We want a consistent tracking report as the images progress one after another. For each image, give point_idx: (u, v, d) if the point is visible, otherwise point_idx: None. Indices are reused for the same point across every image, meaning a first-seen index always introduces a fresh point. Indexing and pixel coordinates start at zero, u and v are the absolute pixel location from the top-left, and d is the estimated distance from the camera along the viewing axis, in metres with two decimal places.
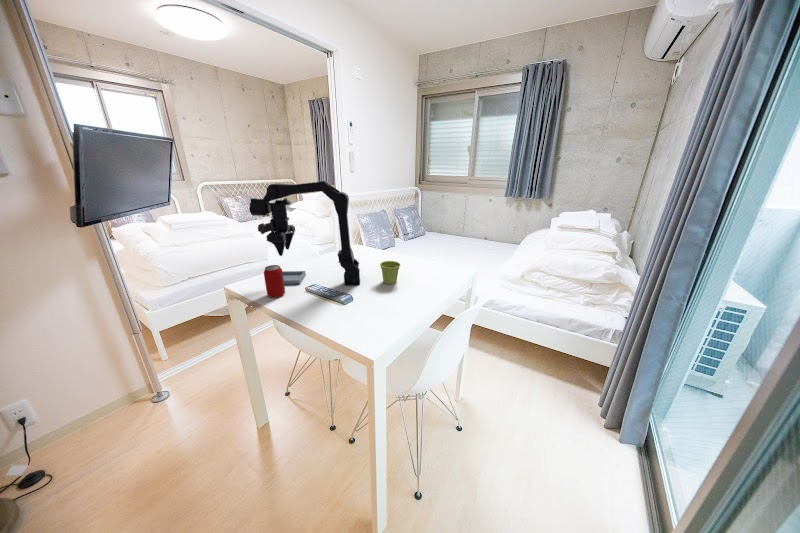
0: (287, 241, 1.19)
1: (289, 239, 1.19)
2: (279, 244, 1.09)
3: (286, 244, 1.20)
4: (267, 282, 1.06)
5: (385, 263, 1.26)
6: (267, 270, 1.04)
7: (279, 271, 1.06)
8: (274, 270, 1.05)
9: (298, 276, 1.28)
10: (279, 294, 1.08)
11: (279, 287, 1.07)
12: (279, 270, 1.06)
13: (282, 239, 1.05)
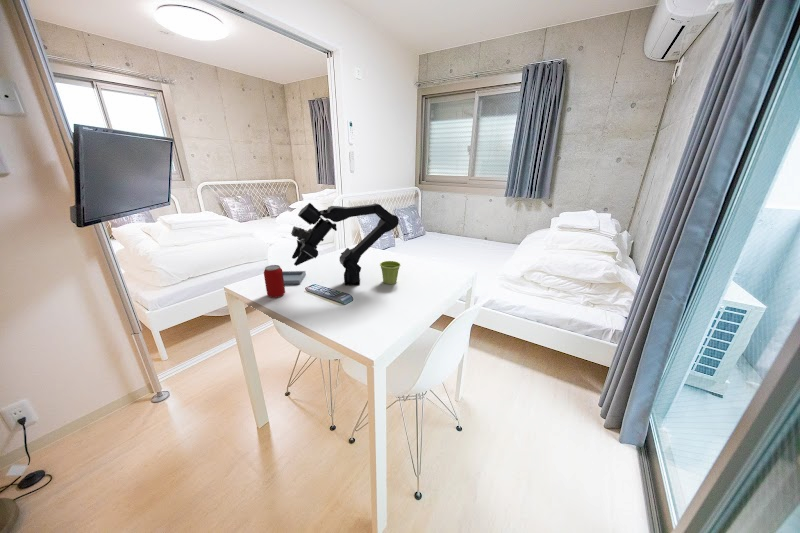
0: (299, 252, 1.14)
1: None
2: (304, 256, 1.05)
3: (296, 254, 1.14)
4: (267, 282, 1.06)
5: (385, 263, 1.26)
6: (267, 270, 1.04)
7: (279, 271, 1.06)
8: (274, 270, 1.05)
9: (298, 276, 1.28)
10: (279, 294, 1.08)
11: (279, 287, 1.07)
12: (279, 270, 1.06)
13: (315, 256, 1.04)
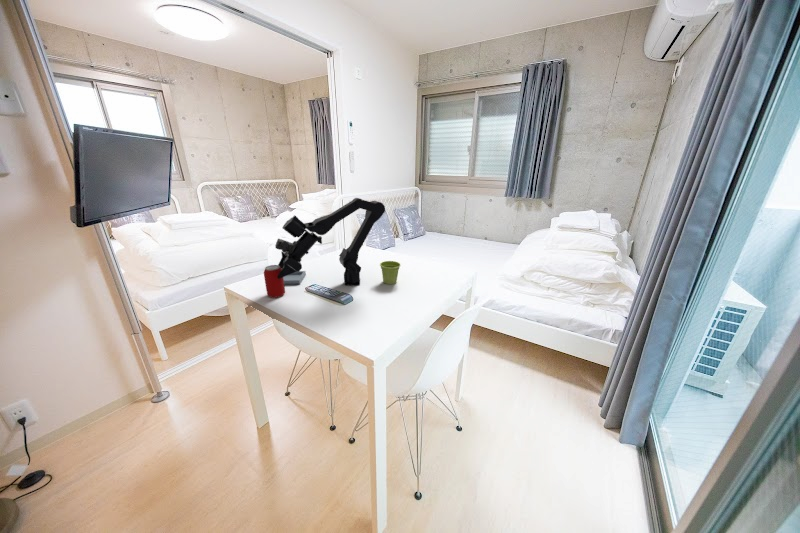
0: (283, 264, 1.13)
1: None
2: (287, 269, 1.04)
3: (280, 266, 1.12)
4: (267, 282, 1.06)
5: (385, 263, 1.26)
6: (267, 270, 1.04)
7: (279, 271, 1.06)
8: (274, 270, 1.05)
9: (298, 276, 1.28)
10: (279, 294, 1.08)
11: (279, 287, 1.07)
12: (279, 270, 1.06)
13: (299, 270, 1.03)
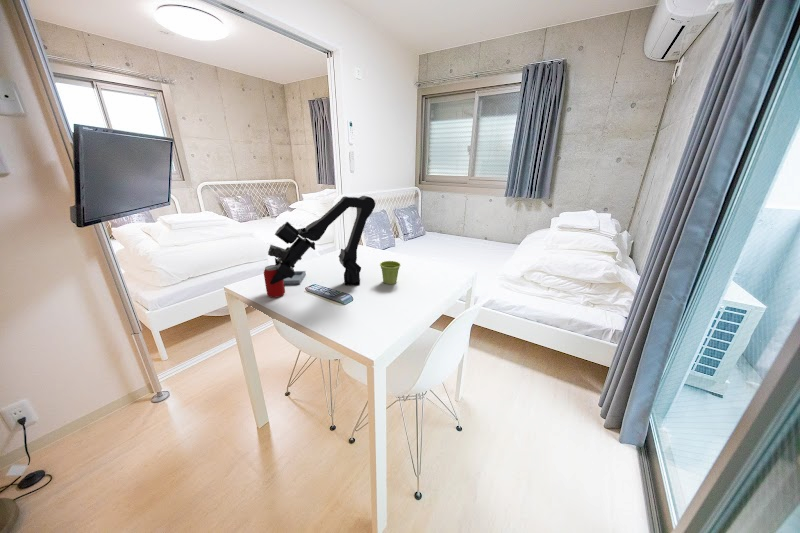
0: None
1: None
2: (280, 275, 1.04)
3: None
4: (267, 282, 1.06)
5: (385, 263, 1.26)
6: (267, 270, 1.04)
7: None
8: (274, 270, 1.05)
9: (298, 276, 1.28)
10: (279, 294, 1.08)
11: (279, 287, 1.07)
12: None
13: None
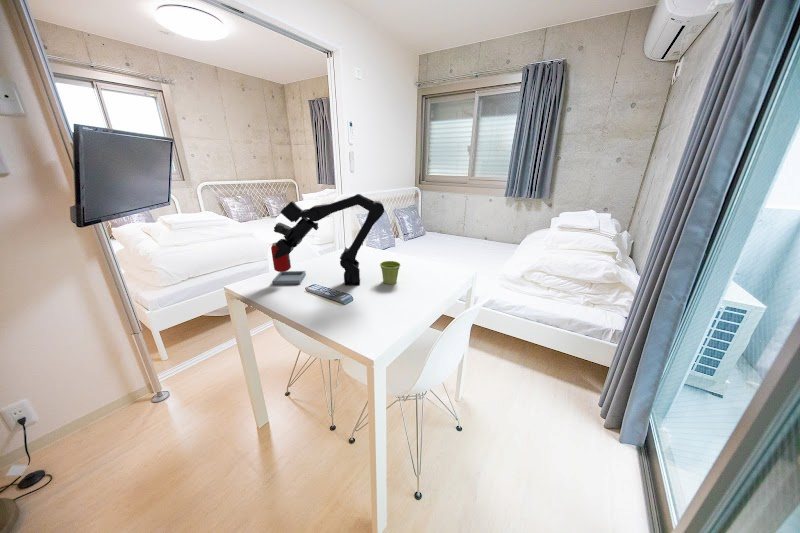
0: None
1: None
2: (282, 251, 1.12)
3: None
4: (272, 256, 1.14)
5: (385, 263, 1.26)
6: (273, 245, 1.13)
7: None
8: None
9: (298, 276, 1.28)
10: (282, 269, 1.16)
11: (282, 262, 1.15)
12: None
13: (288, 253, 1.08)
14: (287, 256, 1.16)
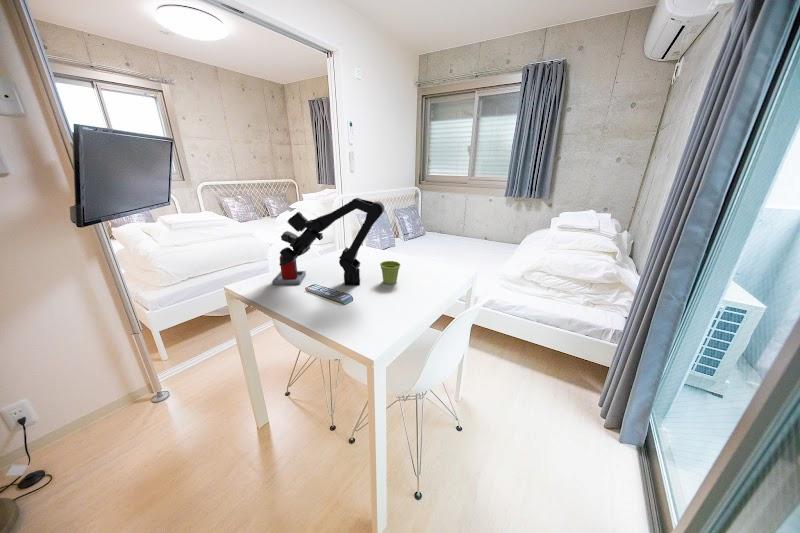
0: None
1: (297, 254, 1.26)
2: (286, 259, 1.16)
3: None
4: None
5: (385, 263, 1.26)
6: (281, 255, 1.20)
7: None
8: None
9: (298, 276, 1.28)
10: (289, 278, 1.22)
11: (289, 272, 1.21)
12: None
13: (291, 261, 1.13)
14: (294, 266, 1.22)
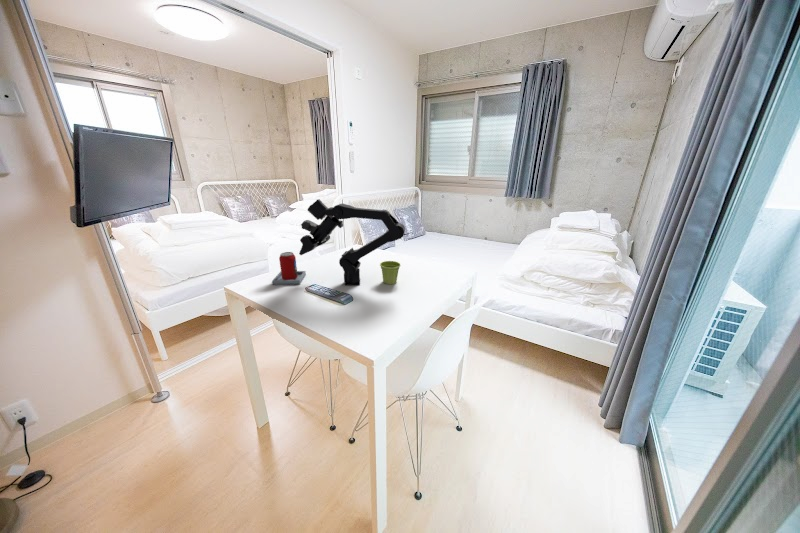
0: None
1: (317, 244, 1.25)
2: (306, 247, 1.14)
3: None
4: (280, 266, 1.21)
5: (385, 263, 1.26)
6: (280, 255, 1.20)
7: (289, 258, 1.19)
8: (285, 256, 1.19)
9: (298, 276, 1.28)
10: (289, 278, 1.22)
11: (288, 272, 1.21)
12: (290, 257, 1.20)
13: (311, 249, 1.11)
14: (293, 266, 1.22)
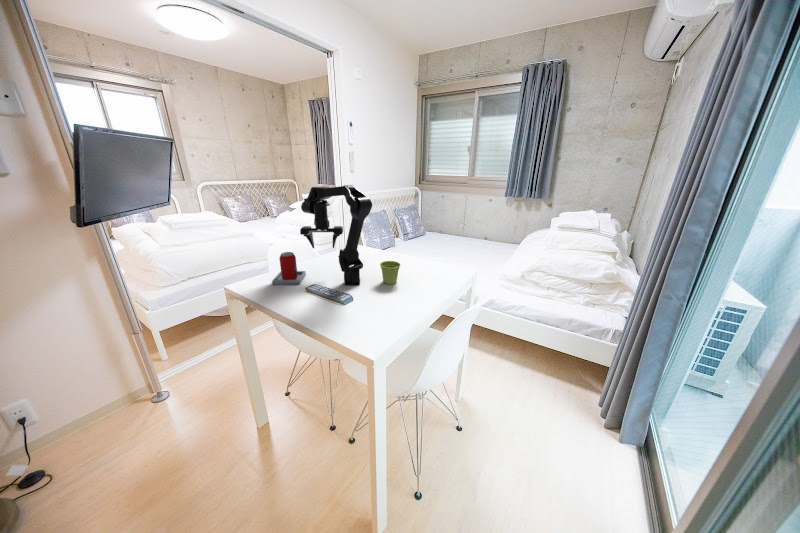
0: (333, 240, 1.28)
1: (333, 239, 1.27)
2: None
3: (333, 243, 1.29)
4: (280, 266, 1.21)
5: (385, 263, 1.26)
6: (281, 255, 1.20)
7: (289, 258, 1.20)
8: (285, 256, 1.19)
9: (298, 276, 1.28)
10: (289, 278, 1.22)
11: (289, 272, 1.21)
12: (290, 257, 1.20)
13: (301, 233, 1.23)
14: (294, 266, 1.22)
